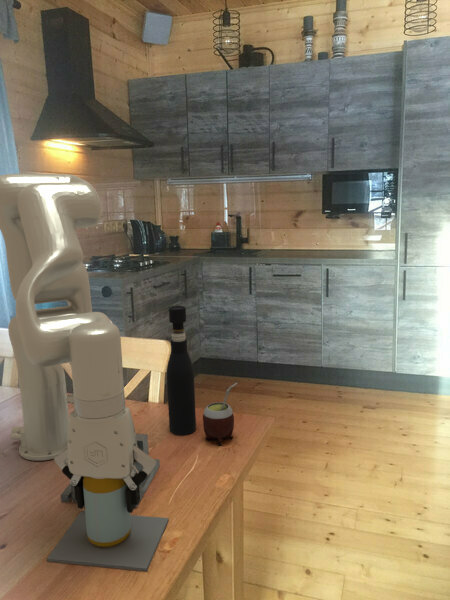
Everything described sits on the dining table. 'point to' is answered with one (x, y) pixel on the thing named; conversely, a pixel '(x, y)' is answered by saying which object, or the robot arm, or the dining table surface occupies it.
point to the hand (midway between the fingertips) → (108, 504)
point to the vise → (142, 445)
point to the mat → (122, 556)
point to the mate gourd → (219, 420)
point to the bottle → (106, 511)
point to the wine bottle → (180, 378)
